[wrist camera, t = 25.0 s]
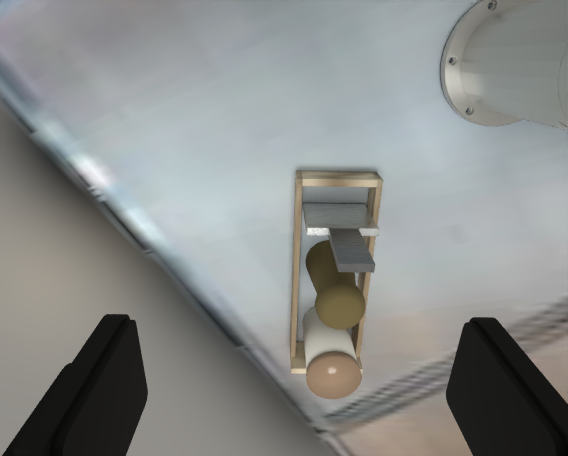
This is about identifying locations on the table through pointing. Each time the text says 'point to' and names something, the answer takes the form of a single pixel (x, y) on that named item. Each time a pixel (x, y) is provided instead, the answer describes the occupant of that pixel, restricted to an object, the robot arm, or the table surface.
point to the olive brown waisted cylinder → (334, 289)
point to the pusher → (344, 233)
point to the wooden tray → (302, 179)
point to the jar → (329, 359)
